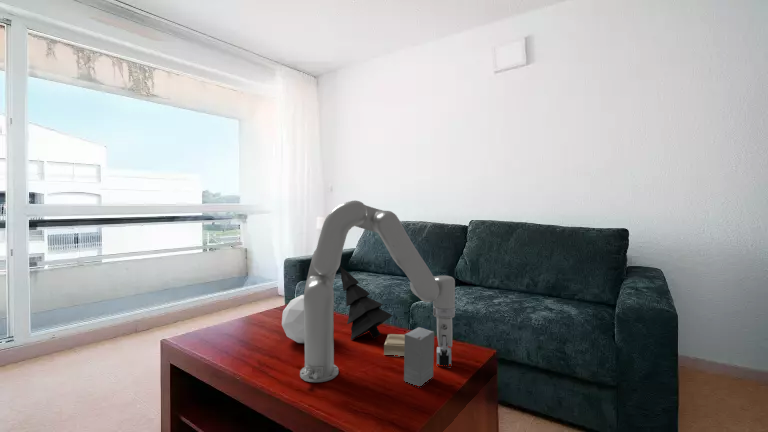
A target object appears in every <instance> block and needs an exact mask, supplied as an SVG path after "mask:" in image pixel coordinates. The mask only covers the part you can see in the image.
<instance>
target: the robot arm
mask: <svg viewBox="0 0 768 432" xmlns="http://www.w3.org/2000/svg"><path fill="white" fill-rule="evenodd" d="M402 224H403V223H401V221H400V219H399V217H398V215H397V214H396V213H394V212H393V211H390V210H385V209H384V210H383V209H380V208H375V207H372V206H369V205H366V204H364V203H363V202H362V201H359V200H351V201H346V202H344V203H341V204H339V205H338V206H336V207H334V208H333V209H332V210H331V211H330V212H329V213H328V214H327V216H326V218H325V220H324V221H323V225H322V227H321V230H320V235H319V237H318V242H317V244H316V245H317V246H316V249H315V250H313V254H312V257H311V261H310V265H309V268H308V273H307V276H306V281H305V286H304V291H303V295H304V329H305V343H304V367H302V368H301V369H300V370H299V377H300V379H302V380H303V381H305V382H309V383H323V382H328V381H331V380H333V379H335V378H337V376H338V375H339V367H338V366H337V365H336V364H335V349H334V348H335V341H334V340H335V339H334V338H335V337H334V336H335V335H334V334H335V333H334V330H335V329H334V327H335V326H334V323H335V322H334V317H335V316H334V315H335V314H334V311H335V310H334V309H335V305H334V304H335V291H334V287H333V286H334V283H335V277H336V275H337V271H338V270H339V268H340V265H341V261H342V255H343V250H344V245H345V243H346V239H347V235H348V233H349V232H350V230H351V229H352V228H354V227H357V228H360V229H363V230H366V231H369V232H373V233H377V234H378V236H379V237H380V239H381V241H382V242H383V243H384V246H385V248H386V249H387V251H388V253H389V255H390V256H391V258H392V261H394V263H395V264H396V265H397V266H398V267H399V268H400V269H401V270H402V271H403V273H404V274H405V275H406V277H407V278H408V280H409V281H410V283H409V288H410V290H411V292H412V294H414V295H415V296H416V297H417V298H419V299H420V301H422V302H424V303H432V304H433V307H432V308H433V309H432V310H433V312H432V313H433V314H432V316H433V317H434V318H436V337H437V345H438V346H437V347H440V354H439V365H443V366H444V365H445V366H446V365H447V366H449V355H448V348H453V318H455V316H456V281H455V278H454V277H453V276H450V275H436V276H435V275H433V273H432V272H431V270H430V267H428V265H427V264H426V262H425V260H424V259H423V257H422V256H421V254H420V253H419V251H418V249H417V248H416V247H415V245H414V243H413V242H412V240H411V238H410V237H409V235H408V233H407V232H406V230H405V228H404V226H403V225H402ZM446 348H447V349H446Z"/></svg>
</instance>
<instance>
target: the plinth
mask: <svg viewBox="0 0 768 432" xmlns="http://www.w3.org/2000/svg"><path fill="white" fill-rule="evenodd" d="M404 350H405V334H396V333H388V334H387V337H386V339H385V342H384V344H383V356H384V355H394V356H393V357H396V356H395V355H398V356H397V357H400V356H404Z"/></svg>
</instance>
